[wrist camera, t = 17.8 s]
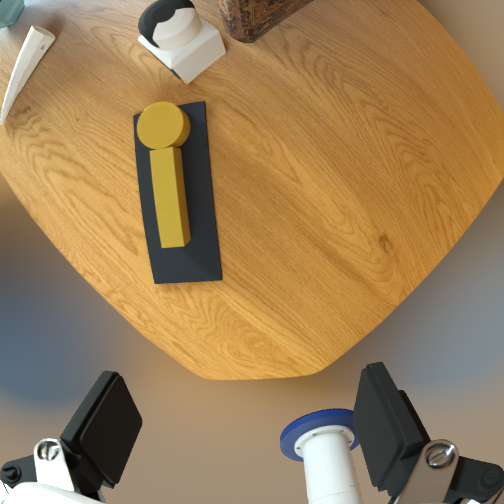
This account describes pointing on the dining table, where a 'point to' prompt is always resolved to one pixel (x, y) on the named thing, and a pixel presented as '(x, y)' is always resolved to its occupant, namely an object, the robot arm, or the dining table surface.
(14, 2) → the flower pot
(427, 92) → the dining table surface
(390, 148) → the dining table surface
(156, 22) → the medicine bottle
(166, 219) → the yellow disc-ended bar
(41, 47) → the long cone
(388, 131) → the dining table surface
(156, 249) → the mat
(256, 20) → the book
